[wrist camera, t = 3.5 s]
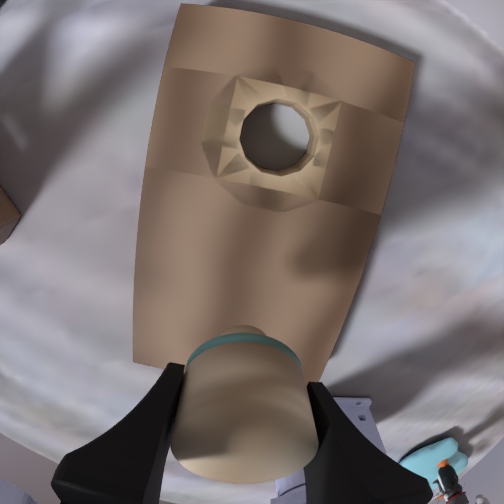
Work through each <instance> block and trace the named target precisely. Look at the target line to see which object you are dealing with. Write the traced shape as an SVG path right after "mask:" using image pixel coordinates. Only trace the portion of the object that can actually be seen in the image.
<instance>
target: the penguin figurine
mask: <svg viewBox="0 0 504 504" xmlns="http://www.w3.org/2000/svg"><path fill="white" fill-rule="evenodd" d="M399 464H400V465H402V466H403V467H405V468H407V469H408V470H410V471H412V472H414V473H416V474H418V475H420V476H422V477H424V478H426V479H427V480H428V482H429V485H430V487H431V489H432V490H433V489H436V488H438V487H439V490H440V491H441V492H442V494H443V495H441V496H440V497H438V498H437V499H441V498H445V501H446V504H468V503H469V501H468V499H467V497H466V495H465V493H466V492H462V486H461V485H460V484H458V476H457V475H458V474H460V473H461V472H462V471H463V470H464V469H465V468H466V466H467V464H468V457H467V456H466V455H465V454H464V453H461V452H459V451H458V443H457V441H455V440H454V439H453V438H446V439H444V440H441V441H438V442H436V443H434V444H431V445H428V446H425V447H423V448H421V449H419V450H417V451H415V452H413V453H412V454H410V455H409V456H407V457H406V458H405V459H403V460H402V461H401V462H400V463H399ZM441 486H442V487H441ZM442 488H443V489H445V492H444V491H443V490H442ZM434 493H435V492H434ZM437 495H439V494H438V493H437ZM435 500H436V499H435ZM475 504H490V502H489V501H488V499H487V498H485V497H483V495H481V494H480V495H477V496H476V498H475Z"/></svg>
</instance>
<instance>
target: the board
mask: <svg viewBox="0 0 504 504" xmlns="http://www.w3.org/2000/svg"><path fill="white" fill-rule="evenodd" d="M414 68H415V62H412V61H410V60H408V59H406V58H404V57H401V56H399V55H397V54H394V53H392V52H389V51H387V50H385V49H382V48H380V47H377V46H374V45H372V44H369V43H366V42H364V41H361V40H358V39H355V38H352V37H349V36H346V35H343V34H340V33H337V32H334V31H331V30H327V29H324V28H321V27H317V26H313V25H310V24H306V23H302V22H298V21H294V20H290V19H286V18H281V17H277V16H272V15H267V14H262V13H256V12H251V11H245V10H238V9H231V8H224V7H216V6H207V5H196V4H182V3H181V5H180V8H179V11H178V15H177V18H176V22H175V25H174V29H173V32H172V36H171V40H170V44H169V48H168V52H167V56H166V60H165V64H164V68H163V72H162V77H161V81H160V86H159V91H158V95H157V100H156V105H155V110H154V116H153V121H152V127H151V132H150V138H149V144H148V151H147V157H146V164H145V171H144V179H143V186H142V194H141V203H140V212H139V222H138V233H137V245H136V259H135V276H134V300H133V362H135V363H139V364H143V365H148V366H152V367H157V368H161V369H165V368H166V366H167V364H168V363H170V362H173V363H178V364H183V365H185V367H186V363H187V361H188V359H189V357H190V356H191V354H192V353H193V352H194V351H195V350H196V349H197V348H198V347H199V346H201V345H202V344H204V343H205V342H207V341H209V340H211V339H213V338H216V337H219V336H221V334H222V333H223V332H224V331H225V330H227V329H228V328H230V327H233V326H237V325H250V326H254V327H256V328H258V329H260V330H262V331H263V332H264V333H265V334H266V336H268V337H271V338H274V339H276V340H278V341H280V342H282V343H284V344H285V345H287V346H288V347H289V348H290V349H291V350H292V351H293V352H294V353H295V354H296V355H297V357H298V358H299V360H300V363H301V365H302V370H303V374H304V378H305V383H306V387H307V385H308V382H319V380H320V378H321V375H322V373H323V371H324V369H325V366H326V364H327V362H328V359H329V357H330V355H331V352H332V350H333V348H334V345H335V343H336V341H337V338H338V336H339V333H340V331H341V328H342V326H343V323H344V321H345V318H346V316H347V313H348V310H349V308H350V305H351V303H352V300H353V297H354V295H355V292H356V289H357V286H358V284H359V281H360V278H361V275H362V272H363V269H364V266H365V264H366V261H367V258H368V255H369V252H370V249H371V245H372V242H373V239H374V236H375V233H376V230H377V226H378V223H379V220H380V217H381V213H382V210H383V206H384V203H385V199H386V196H387V192H388V189H389V185H390V181H391V177H392V173H393V170H394V166H395V162H396V158H397V153H398V149H399V145H400V141H401V136H402V132H403V127H404V122H405V118H406V113H407V108H408V103H409V97H410V92H411V86H412V80H413V74H414ZM271 103H277V104H281V105H285V106H290V107H292V108H293V109H294V110H295V111H296V112H297V113H299V114H300V115H301V116H302V117H303V118H304V119H305V122H306V125H307V128H308V131H309V135H310V138H309V142H308V147H307V151H306V154H305V155H304V156H303V157H302V158H301V159H300V160H299V161H298V162H297V163H296V164H295V165H294V166H292V167H289V168H286V169H282V170H279V171H273V170H269V169H264V168H259V167H258V166H257V165H256V164H255V163H253V162H252V161H251V160H250V159H249V158H248V157H246V156H245V153H244V150H243V147H242V144H241V141H240V135H241V130H242V125H243V121H244V120H245V119H246V118H247V117H248V116H249V115H250V113H251V112H252V111H253V110H254V109H255V108H257V107H260V106H264V105H267V104H271ZM184 371H185V369H184Z"/></svg>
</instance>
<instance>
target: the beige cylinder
mask: <svg viewBox="0 0 504 504" xmlns="http://www.w3.org/2000/svg"><path fill="white" fill-rule="evenodd" d="M318 444H319V442H318V437H317V432H316V428H315V423H314V419H313V414H312V409H311V405H310V400H309V396H308V392H307V387H306V383H305V378H304V374H303V370H302V365H301V363H300V360H299V358H298V357H297V355H296V354H295V353H294V352H293V351H292V350H291V349H290V348H289V347H288V346H287V345H285V344H284V343H282V342H280V341H278V340H276V339H274V338H271V337H268V336H266V334H265V333H264V332H263V331H262V330H260V329H258V328H256V327H254V326H250V325H237V326H233V327H230V328H228V329H227V330H225V331H224V332H223V333H222V334H221V336H219V337H216V338H213V339H211V340H209V341H207V342H205V343H204V344H202V345H201V346H199V347H198V348H197V349H196V350H195V351H194V352H193V353H192V354H191V356H190V357H189V359H188V361H187V363H186V367H185V371H184V377H183V382H182V386H181V391H180V395H179V400H178V405H177V410H176V415H175V421H174V426H173V431H172V436H171V442H170V446H171V450H172V453H173V455H174V457H175V458H176V459H177V460H178V462H179V463H180V464H182V465H183V466H184V467H185V468H187V469H188V470H190V471H192V472H193V473H195V474H197V475H200V476H202V477H205V478H208V479H211V480H215V481H219V482H224V483H232V484H256V483H264V482H269V481H274V480H278V479H281V478H284V477H287V476H289V475H291V474H293V473H295V472H297V471H299V470H301V469H302V468H303V467H305V466H306V465H307V464H308V463H309V462H310V461H311V460H312V459H313V458H314V456H315V455H316V453H317V450H318Z"/></svg>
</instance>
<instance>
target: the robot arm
mask: <svg viewBox="0 0 504 504" xmlns="http://www.w3.org/2000/svg"><path fill="white" fill-rule="evenodd" d="M184 369H185V365H183V364H178V363H173V362H170V363H168V364H167V366H166V368H165V370H164V371H163V373H162V374H161V376H160V377H159V379H158V380H157V382H156V383H155V384H154V386H153V387H152V388H151V389H150V391H149V392H148V393H147V394H146V396H145V397H144V398H143V399H142V400H141V401H140V402H139V403H138V404H137V406H136V407H135V408H134V409H133V410H132V411H131V412H130V413H128V414H127V415H126V416H125V417H124V418H123V419H122V420H121V421H120V422H118V423H117V424H116V425H114V426H113V427H112V428H111V429H109V430H108V431H107V432H105V433H104V434H102V435H101V436H99V437H98V438H96V439H94V440H93V441H91V442H90V443H88V444H86V445H84V446H82V447H80V448H78V449H76V450H74V451H72V452H70V453H68V454H66V455H65V456H64V458H63V459H62V460H61V462H60V464H59V465H58V467H57V469H56V471H55V473H54V476H53V479H52V482H51V486H52V488H53V490H54V492H55V493H56V495H57V496H58V498H59V499H60V500H61V503H60V504H159V498H160V492H161V485H162V478H163V472H164V466H165V462H166V458H167V454H168V450H169V447H170V442H171V436H172V431H173V426H174V421H175V415H176V410H177V405H178V400H179V395H180V391H181V386H182V382H183V377H184ZM307 392H308V396H309V400H310V405H311V409H312V414H313V419H314V423H315V428H316V432H317V437H318V442H319V444H318V450H317V453H316V455H315V456H314V458H313V459H312V460H311V461H310V462H309V463H308V464H307V465H306V466H305V467H303V468H302V469H301V470H299V471H297V472H295V473H293V474H291V475H289V476H287V477H284V478H281V479H278V480H275V483H276V494H277V498H274V499H271V500H270V503H271V504H427V503H428V502H429V501H430V500H431V499H432V497H433V492H432V489H431V487H430V485H429V482H428V480H427V479H426V478H424V477H422V476H420V475H418V474H416V473H414V472H412V471H410V470H408V469H407V468H405V467H403V466H402V465H400V464H398V463H397V462H395V461H394V460H392V459H391V458H390V457H388V456H387V455H386V451H385V448H384V445H383V443H382V440H381V437H380V435H379V432H378V430H377V427H376V424H375V422H374V419H373V417H372V414H371V412H370V409H369V407H370V405H371V404H372V400H371V399H370V398H342V397H332V396H331V394H330V393H329V391H328V390H327V389H326V387H325V386H324V384H323V383H322V382H308V385H307ZM0 504H40V503H37V502H35V501H34V500H33V498H32V497H31V496H30V495H29V494H28V493H27V492H25V491H24V490H22V489H20V488H18V487H16V486H14V485H12V484H11V483H9V482H7V481H5V480H3V479H1V478H0Z"/></svg>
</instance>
